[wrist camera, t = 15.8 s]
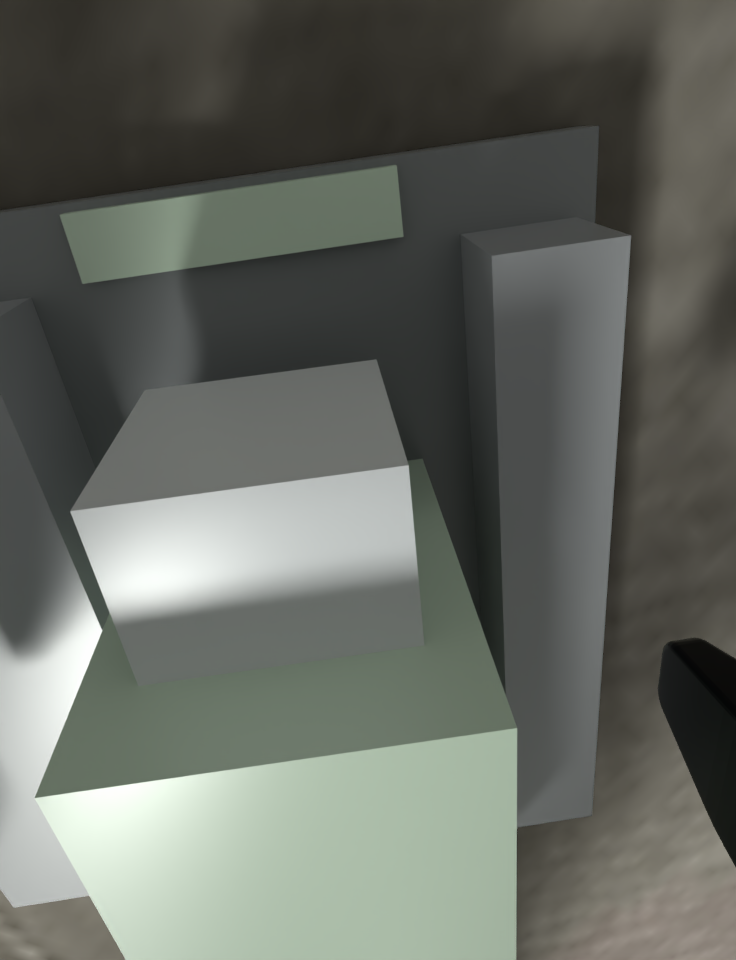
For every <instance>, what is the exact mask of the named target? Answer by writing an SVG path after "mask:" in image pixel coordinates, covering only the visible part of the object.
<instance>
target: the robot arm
mask: <svg viewBox="0 0 736 960" xmlns="http://www.w3.org/2000/svg"><path fill="white" fill-rule="evenodd" d="M658 695H659V700H660V703H661V707H662V709H663V712H664V714H665V716H666V718H667V721H668V723H669V725H670V728H671V730H672V732H673V735H674V737H675V739H676V742H677V744H678V746H679V749H680V751H681V753H682V755H683V758H684V760H685V762H686V765H687V767H688V769H689V772H690V774H691V776H692V779H693V781H694V783H695V786H696V788H697V790H698V792H699V795H700V797H701V799H702V802H703V804H704V806H705V809H706V811H707V813H708V815H709V817H710V819H711V822H712V824H713V826H714V828H715V830H716V832H717V834H718V835H719V837H720V839H721V841H722V843H723V845H724V847H725V849H726V850H727V852H728V854H729V856H730V858H731V859H732V861H733V863H734V865H735V867H736V659H735V658H734V657H732V656H730V655H729V654H727V653H725V652H724V651H722V650H720V649H718V648H717V647H715V646H713V645H712V644H710V643H708V642H707V641H705V640H702V639H700V638H690V639H683V640H677V641H670V642H668V643H667V644H666V645H665V646H664V649H663V653H662V661H661V669H660V676H659V684H658Z"/></svg>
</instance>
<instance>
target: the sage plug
mask: <svg viewBox="0 0 736 960" xmlns="http://www.w3.org/2000/svg"><path fill="white" fill-rule="evenodd" d="M70 512H71V515H72V518H73V520H74V523H75V525H76V528H77V530H78V533H79V536H80V538H81V541H82V543H83V546H84V548H85V551H86V553H87V556H88V559H89V561H90V564H91V566H92V569H93V571H94V574H95V576H96V579H97V582H98V584H99V587H100V589H101V592H102V594H103V597H104V599H105V602H106V605H107V607H108V610H109V612H110V613H109V616H108V618H107V621H106V623H105V625H104V628H103V630H102V633H101V635H100V638H99V640H98V643H97V645H96V648H95V650H94V653H93V655H92V657H91V660H90V662H89V665H88V667H87V670H86V672H85V675H84V677H83V680H82V682H81V685H80V687H79V690H78V692H77V694H76V697H75V699H74V702H73V704H72V707H71V709H70V712H69V714H68V717H67V719H66V722H65V724H64V727H63V729H62V731H61V734H60V736H59V739H58V741H57V744H56V746H55V749H54V751H53V754H52V756H51V759H50V761H49V764H48V766H47V768H46V771H45V773H44V776H43V778H42V781H41V783H40V786H39V788H38V791H37V793H36V796H35V800H36V802H37V804H38V805H39V807H40V809H41V811H42V812H43V814H44V816H45V818H46V819H47V821H48V823H49V825H50V827H51V828H52V830H53V832H54V834H55V835H56V837H57V839H58V841H59V842H60V844H61V846H62V848H63V850H64V851H65V853H66V855H67V857H68V858H69V860H70V862H71V864H72V865H73V867H74V869H75V871H76V873H77V874H78V876H79V878H80V880H81V881H82V883H83V885H84V887H85V888H86V890H87V892H88V894H89V896H90V897H91V899H92V901H93V903H94V904H95V906H96V908H97V910H98V911H99V913H100V915H101V917H102V919H103V920H104V922H105V924H106V926H107V927H108V929H109V931H110V933H111V935H112V936H113V938H114V940H115V942H116V943H117V945H118V947H119V949H120V950H121V952H122V954H123V956H124V958H125V959H126V960H516V890H517V726H516V723H515V720H514V717H513V715H512V712H511V709H510V706H509V703H508V700H507V698H506V695H505V692H504V689H503V686H502V683H501V681H500V678H499V675H498V672H497V669H496V666H495V663H494V661H493V658H492V655H491V652H490V649H489V646H488V644H487V641H486V638H485V635H484V632H483V629H482V626H481V624H480V621H479V618H478V615H477V612H476V609H475V607H474V604H473V601H472V598H471V595H470V592H469V589H468V587H467V584H466V581H465V578H464V575H463V572H462V570H461V567H460V564H459V561H458V558H457V555H456V552H455V550H454V547H453V544H452V541H451V538H450V535H449V533H448V530H447V527H446V524H445V521H444V518H443V515H442V513H441V510H440V507H439V504H438V501H437V498H436V496H435V493H434V490H433V487H432V484H431V481H430V478H429V476H428V473H427V470H426V467H425V464H424V461H423V459H416V460H409V461H407V458H406V455H405V452H404V449H403V445H402V442H401V439H400V435H399V432H398V429H397V425H396V422H395V419H394V416H393V412H392V409H391V406H390V402H389V399H388V396H387V392H386V389H385V386H384V383H383V379H382V376H381V373H380V369H379V366H378V363H377V360H376V359H375V360H368V361H360V362H353V363H345V364H337V365H330V366H322V367H315V368H307V369H300V370H292V371H285V372H277V373H270V374H262V375H254V376H247V377H239V378H232V379H224V380H217V381H209V382H202V383H194V384H186V385H179V386H171V387H164V388H156V389H149V390H144V392H143V394H142V395H141V397H140V399H139V400H138V402H137V403H136V405H135V407H134V408H133V410H132V412H131V413H130V415H129V416H128V418H127V420H126V421H125V423H124V425H123V426H122V428H121V429H120V431H119V433H118V434H117V436H116V438H115V439H114V441H113V442H112V444H111V446H110V447H109V449H108V450H107V452H106V454H105V455H104V457H103V459H102V460H101V462H100V463H99V465H98V467H97V468H96V470H95V472H94V473H93V475H92V476H91V478H90V480H89V481H88V483H87V485H86V486H85V488H84V489H83V491H82V493H81V494H80V496H79V498H78V499H77V501H76V502H75V504H74V506H73V507H72V509H71V511H70Z"/></svg>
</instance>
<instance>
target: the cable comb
mask: <svg viewBox="0 0 736 960" xmlns="http://www.w3.org/2000/svg"><path fill="white" fill-rule="evenodd" d="M598 142H599V126H577V127H570V128H563V129H556V130H549V131H543V132H536V133H529V134H522V135H515V136H508V137H501V138H494V139H488V140H481V141H474V142H467V143H460V144H453V145H446V146H439V147H433V148H426V149H419V150H412V151H405V152H398V153H391V154H384V155H378V156H371V157H364V158H357V159H350V160H343V161H336V162H329V163H322V164H316V165H309V166H302V167H295V168H288V169H281V170H274V171H267V172H261V173H254V174H247V175H240V176H233V177H226V178H219V179H212V180H206V181H199V182H192V183H185V184H178V185H171V186H164V187H157V188H151V189H144V190H137V191H130V192H123V193H116V194H109V195H102V196H95V197H89V198H82V199H75V200H68V201H61V202H54V203H47V204H40V205H34V206H27V207H20V208H13V209H6V210H0V889H1V891H2V892H3V893H4V895H5V896H6V898H7V899H8V900H9V902H10V903H11V905H12V906H13V907H14V908H15V907H21V906H27V905H34V904H40V903H46V902H52V901H59V900H65V899H71V898H78V897H84V896H89V894H88V892H87V890H86V888H85V887H84V885H83V883H82V881H81V880H80V878H79V876H78V874H77V873H76V871H75V869H74V867H73V865H72V864H71V862H70V860H69V858H68V857H67V855H66V853H65V851H64V850H63V848H62V846H61V844H60V842H59V841H58V839H57V837H56V835H55V834H54V832H53V830H52V828H51V827H50V825H49V823H48V821H47V819H46V818H45V816H44V814H43V812H42V811H41V809H40V807H39V805H38V804H37V802H36V800H35V796H36V793H37V791H38V788H39V786H40V783H41V781H42V778H43V776H44V773H45V771H46V768H47V766H48V764H49V761H50V759H51V756H52V754H53V751H54V749H55V746H56V744H57V741H58V739H59V736H60V734H61V731H62V729H63V727H64V724H65V722H66V719H67V717H68V714H69V712H70V709H71V707H72V704H73V702H74V699H75V697H76V694H77V692H78V690H79V687H80V685H81V682H82V680H83V677H84V675H85V672H86V670H87V667H88V665H89V662H90V660H91V657H92V655H93V653H94V650H95V648H96V645H97V643H98V640H99V638H100V635H101V633H102V630H103V628H104V625H105V623H106V621H107V618H108V616H109V613H110V612H109V610H108V607H107V605H106V602H105V599H104V597H103V594H102V592H101V589H100V587H99V584H98V582H97V579H96V576H95V574H94V571H93V569H92V566H91V564H90V561H89V559H88V556H87V553H86V551H85V548H84V546H83V543H82V541H81V538H80V536H79V533H78V530H77V528H76V525H75V523H74V520H73V518H72V515H71V512H70V511H71V509H72V507H73V506H74V504H75V502H76V501H77V499H78V498H79V496H80V494H81V493H82V491H83V489H84V488H85V486H86V485H87V483H88V481H89V480H90V478H91V476H92V475H93V473H94V472H95V470H96V468H97V467H98V465H99V463H100V462H101V460H102V459H103V457H104V455H105V454H106V452H107V450H108V449H109V447H110V446H111V444H112V442H113V441H114V439H115V438H116V436H117V434H118V433H119V431H120V429H121V428H122V426H123V425H124V423H125V421H126V420H127V418H128V416H129V415H130V413H131V412H132V410H133V408H134V407H135V405H136V403H137V402H138V400H139V399H140V397H141V395H142V394H143V392H144V390H149V389H156V388H164V387H171V386H179V385H186V384H194V383H202V382H209V381H217V380H224V379H232V378H239V377H247V376H254V375H262V374H270V373H277V372H285V371H292V370H300V369H307V368H315V367H322V366H330V365H337V364H345V363H353V362H360V361H368V360H375V359H376V360H377V363H378V366H379V369H380V373H381V376H382V379H383V383H384V386H385V389H386V392H387V396H388V399H389V402H390V406H391V409H392V412H393V416H394V419H395V422H396V425H397V429H398V432H399V435H400V439H401V442H402V445H403V449H404V452H405V455H406V458H407V461H409V460H416V459H423V461H424V464H425V467H426V470H427V473H428V476H429V478H430V481H431V484H432V487H433V490H434V493H435V496H436V498H437V501H438V504H439V507H440V510H441V513H442V515H443V518H444V521H445V524H446V527H447V530H448V533H449V535H450V538H451V541H452V544H453V547H454V550H455V552H456V555H457V558H458V561H459V564H460V567H461V570H462V572H463V575H464V578H465V581H466V584H467V587H468V589H469V592H470V595H471V598H472V601H473V604H474V607H475V609H476V612H477V615H478V618H479V621H480V624H481V626H482V629H483V632H484V635H485V638H486V641H487V644H488V646H489V649H490V652H491V655H492V658H493V661H494V663H495V666H496V669H497V672H498V675H499V678H500V681H501V683H502V686H503V689H504V692H505V695H506V698H507V700H508V703H509V706H510V709H511V712H512V715H513V717H514V720H515V723H516V726H517V828H518V827H524V826H530V825H536V824H543V823H549V822H555V821H562V820H568V819H574V818H580V817H587V816H592V807H593V792H594V777H595V762H596V748H597V733H598V718H599V703H600V689H601V674H602V659H603V644H604V630H605V615H606V600H607V585H608V571H609V556H610V541H611V526H612V512H613V497H614V482H615V467H616V453H617V438H618V423H619V408H620V394H621V379H622V364H623V349H624V335H625V320H626V305H627V290H628V276H629V261H630V246H631V235H629V234H626V233H623V232H620V231H617V230H614V229H611V228H608V227H605V226H602V225H599V224H595V214H596V190H597V166H598Z"/></svg>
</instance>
